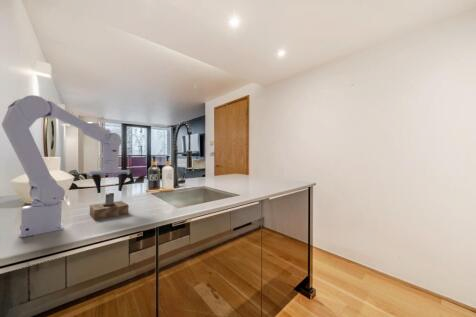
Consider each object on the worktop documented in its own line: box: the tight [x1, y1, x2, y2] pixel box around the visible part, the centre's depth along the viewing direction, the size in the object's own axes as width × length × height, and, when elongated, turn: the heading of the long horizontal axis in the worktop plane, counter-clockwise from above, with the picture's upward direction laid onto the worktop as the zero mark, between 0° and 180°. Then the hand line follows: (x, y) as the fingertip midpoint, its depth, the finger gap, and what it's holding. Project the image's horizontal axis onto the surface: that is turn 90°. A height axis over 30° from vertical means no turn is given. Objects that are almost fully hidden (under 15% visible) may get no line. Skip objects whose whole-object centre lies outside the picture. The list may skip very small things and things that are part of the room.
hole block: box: [89, 200, 129, 221], centre depth 80 cm, size 12×10×4 cm
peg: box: [104, 192, 115, 207], centre depth 80 cm, size 3×3×9 cm
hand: (109, 191), depth 80 cm, fingers open, 7 cm apart
